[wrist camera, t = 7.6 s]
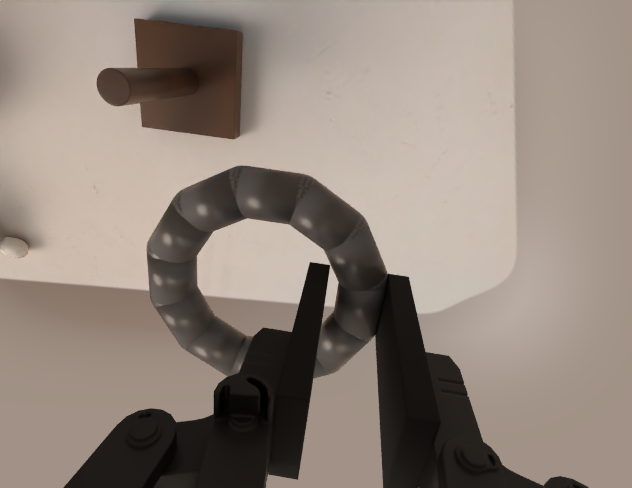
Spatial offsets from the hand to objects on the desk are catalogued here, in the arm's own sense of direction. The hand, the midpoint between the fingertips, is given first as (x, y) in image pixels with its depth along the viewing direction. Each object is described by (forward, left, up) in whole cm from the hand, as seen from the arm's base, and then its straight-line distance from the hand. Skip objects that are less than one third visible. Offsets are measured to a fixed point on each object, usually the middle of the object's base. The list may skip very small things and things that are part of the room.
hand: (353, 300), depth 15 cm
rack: (-15, +5, -21) cm, 26 cm away
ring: (-3, 0, 0) cm, 4 cm away
